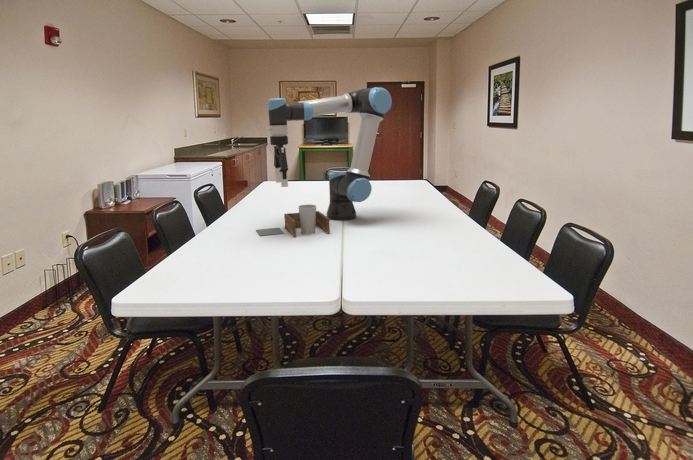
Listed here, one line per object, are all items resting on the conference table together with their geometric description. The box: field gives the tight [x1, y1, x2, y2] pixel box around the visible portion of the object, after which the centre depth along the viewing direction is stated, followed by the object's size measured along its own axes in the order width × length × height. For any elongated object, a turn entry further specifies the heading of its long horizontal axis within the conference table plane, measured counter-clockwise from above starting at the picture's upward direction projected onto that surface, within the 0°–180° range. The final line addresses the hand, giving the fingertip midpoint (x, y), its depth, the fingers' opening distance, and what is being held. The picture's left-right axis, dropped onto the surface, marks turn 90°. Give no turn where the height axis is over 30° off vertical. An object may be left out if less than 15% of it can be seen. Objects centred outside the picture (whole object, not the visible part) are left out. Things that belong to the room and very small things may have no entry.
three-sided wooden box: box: [283, 210, 331, 238], centre depth 215 cm, size 16×17×7 cm
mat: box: [255, 227, 285, 237], centre depth 215 cm, size 11×11×1 cm
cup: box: [297, 204, 317, 235], centre depth 212 cm, size 8×8×12 cm
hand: (281, 184), depth 209 cm, fingers open, 13 cm apart
